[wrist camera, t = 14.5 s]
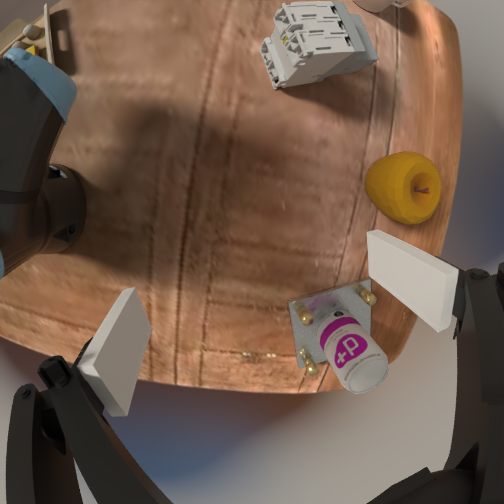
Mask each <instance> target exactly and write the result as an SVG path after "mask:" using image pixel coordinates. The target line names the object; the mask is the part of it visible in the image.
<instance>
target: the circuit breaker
mask: <svg viewBox="0 0 504 504" xmlns="http://www.w3.org/2000/svg"><path fill="white" fill-rule="evenodd" d="M282 15H284V16H282ZM279 16H280V17H279ZM273 20H274V23H275V25H276V27H275V29H274V31H273V33H272V35H271V37H270V38H269V37H267V38H264V41H263V43H262V45H261V47H262V49H260V52H261V55H262V58H263V60H264V63H265V66H266V69H267V71H268V74H269V77H270V80H271V82H272V85H273V88H274V90H276V89H277V87H280V86H282V88H285V87H291V86H296V85H302V84H308V83H314V82H321V81H323V80H324V79H326V78H325V77H328V76H330V75H337V74H347V73H355V72H357V71H359V70H360V69H362V68H364V67H366V66H368V65H371V64H373V62H375V61H377V60H379V59H378V56H377V54H376V51H375V49H374V46H373V44H372V41H371V39H370V37H369V35H368V32H367V30H366V28H365V26H364V24H363V22H362V20H361V18H360V16H359V15H356V14H349V12H348V10H347V8H346V6H345V5H344V3H343V2H334V1H311V2H292V3H291V5H286V4H285V3H282V9H278V10H277V12H276V14H275V16H274V18H273ZM266 58H267V61H266ZM268 64H269V65H268ZM270 69H271V70H270ZM271 73H272V74H273V77H272V74H271ZM275 80H279V81H278V83H276V84H275Z"/></svg>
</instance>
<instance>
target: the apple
mask: <svg viewBox="0 0 504 504" xmlns="http://www.w3.org/2000/svg"><path fill="white" fill-rule="evenodd" d="M365 187H366V192H367V194H368V196H369V198H370V200H371V201H372V202H373V203H374V204H375V205H376V206H377V207H378V208H379V209H380V210H381V211H382V212H383V213H384V214H385V215H386V216H388V217H389V218H391V219H393V220H395V221H397V222H400V223H402V224H407V225H415V224H419V223H422V222H424V221H425V220H427V219H429V218H430V217H431V216H432V215H433V213H434V211H435V210H436V208H437V206H438V205H439V203H440V196H441V184H440V175H439V172H438V170H437V167H436V165H435V164H434V163H433V162H432V161H431V160H430V159H428V158H427V157H425V156H424V155H421V154H418V153H415V152H405V151H404V152H400V153H395V154H392V155H388V156H385V157H383V158H381V159H379V160H377V161H376V162H375V163H373V164H372V166H371V167H370V168H369V170H368V172H367V174H366V180H365Z"/></svg>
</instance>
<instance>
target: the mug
mask: <svg viewBox="0 0 504 504" xmlns="http://www.w3.org/2000/svg"><path fill="white" fill-rule="evenodd" d="M353 1H354V2H355V3H356V4H357V5H358V6H360V7H361V8H363V9H365V10H367V11H370V12H374V13H378V12H381V11H383V10H384V9H385V8H387V7H388V6H390V5H391V4H392V5H394V6H396V7H399V8H402V7H405V6H406V5H408V4H410V3H411V2H412V0H408V1H407V2H405V3H403V4H402V5H399V4H397V3H395V1H397V0H353Z"/></svg>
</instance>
